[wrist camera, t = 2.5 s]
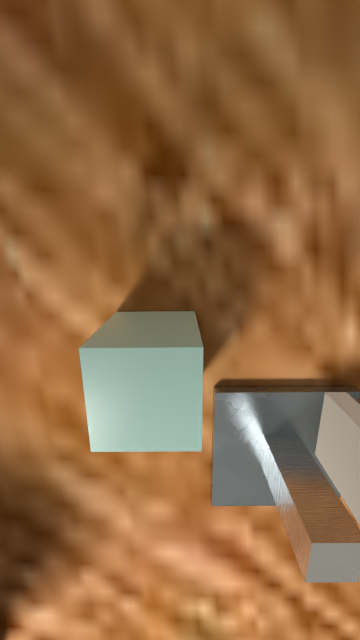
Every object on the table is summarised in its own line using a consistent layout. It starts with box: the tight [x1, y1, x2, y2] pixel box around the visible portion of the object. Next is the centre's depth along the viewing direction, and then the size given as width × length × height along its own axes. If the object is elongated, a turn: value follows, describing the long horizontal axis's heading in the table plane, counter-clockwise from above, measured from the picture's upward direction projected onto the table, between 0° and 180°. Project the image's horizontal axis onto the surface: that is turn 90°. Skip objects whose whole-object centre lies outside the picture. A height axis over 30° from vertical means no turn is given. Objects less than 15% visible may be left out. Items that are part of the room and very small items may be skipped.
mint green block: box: [79, 311, 203, 452], centre depth 15 cm, size 5×5×7 cm
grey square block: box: [210, 386, 360, 582], centre depth 16 cm, size 10×10×8 cm
